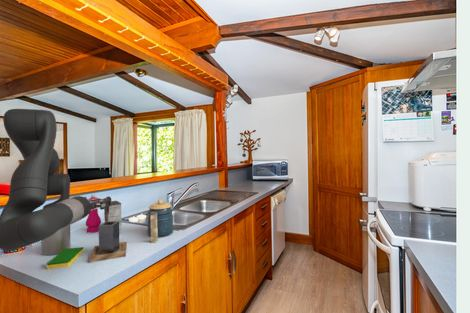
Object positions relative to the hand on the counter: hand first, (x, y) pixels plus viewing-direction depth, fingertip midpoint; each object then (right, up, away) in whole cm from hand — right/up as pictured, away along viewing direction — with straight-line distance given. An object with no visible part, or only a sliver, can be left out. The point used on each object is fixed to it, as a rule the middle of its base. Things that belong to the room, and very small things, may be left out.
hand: (97, 199), depth 85 cm
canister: (+13, -24, +33) cm, 43 cm away
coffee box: (-13, -25, +36) cm, 45 cm away
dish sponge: (-15, -25, +4) cm, 30 cm away
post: (+14, -24, +21) cm, 35 cm away
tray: (-1, -24, +9) cm, 26 cm away
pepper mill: (-26, -25, +39) cm, 53 cm away
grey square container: (-1, -24, +9) cm, 26 cm away
